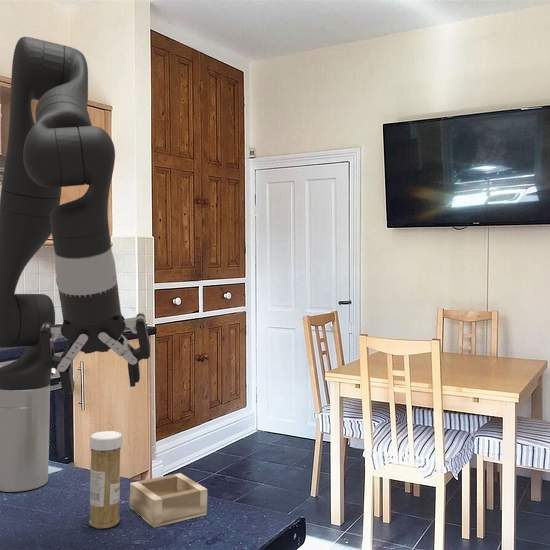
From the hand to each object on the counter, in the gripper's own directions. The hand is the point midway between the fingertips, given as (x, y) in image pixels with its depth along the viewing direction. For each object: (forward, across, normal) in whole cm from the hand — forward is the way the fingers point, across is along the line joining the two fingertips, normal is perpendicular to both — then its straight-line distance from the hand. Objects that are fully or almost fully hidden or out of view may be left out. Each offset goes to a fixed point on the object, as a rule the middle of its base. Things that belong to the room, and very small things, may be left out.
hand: (102, 387), depth 87 cm
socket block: (+24, -7, 0) cm, 25 cm away
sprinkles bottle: (+22, +2, +3) cm, 22 cm away
